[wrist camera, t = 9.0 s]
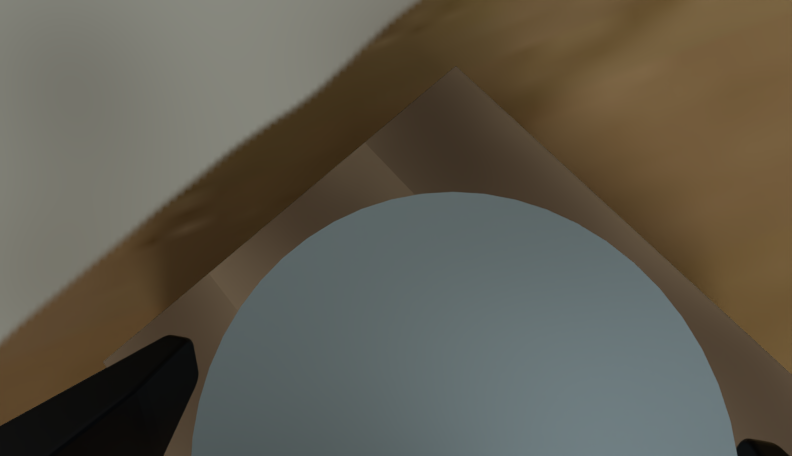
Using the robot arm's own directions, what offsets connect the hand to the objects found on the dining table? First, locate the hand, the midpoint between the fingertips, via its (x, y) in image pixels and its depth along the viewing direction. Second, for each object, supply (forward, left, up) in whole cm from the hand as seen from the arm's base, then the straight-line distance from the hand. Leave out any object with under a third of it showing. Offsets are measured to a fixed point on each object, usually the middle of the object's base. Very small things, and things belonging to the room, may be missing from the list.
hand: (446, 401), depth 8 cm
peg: (0, 0, -10) cm, 10 cm away
